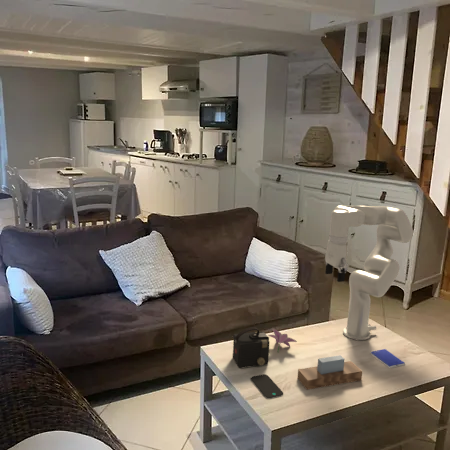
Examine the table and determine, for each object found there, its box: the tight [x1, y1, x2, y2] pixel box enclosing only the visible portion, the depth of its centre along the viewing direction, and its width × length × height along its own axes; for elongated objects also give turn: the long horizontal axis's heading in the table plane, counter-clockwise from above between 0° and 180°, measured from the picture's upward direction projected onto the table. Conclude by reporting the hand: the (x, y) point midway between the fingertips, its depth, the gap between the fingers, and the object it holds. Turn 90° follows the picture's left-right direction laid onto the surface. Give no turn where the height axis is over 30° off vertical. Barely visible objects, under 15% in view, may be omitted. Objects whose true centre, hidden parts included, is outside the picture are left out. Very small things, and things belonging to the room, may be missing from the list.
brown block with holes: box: [297, 360, 363, 390], centre depth 187 cm, size 24×8×4 cm, turn 109°
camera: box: [232, 326, 270, 369], centre depth 197 cm, size 11×14×15 cm
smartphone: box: [250, 373, 284, 400], centre depth 182 cm, size 8×1×15 cm
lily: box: [267, 328, 298, 352], centre depth 210 cm, size 12×12×10 cm
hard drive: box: [370, 348, 406, 369], centre depth 205 cm, size 2×8×12 cm
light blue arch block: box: [316, 354, 346, 375], centre depth 187 cm, size 10×3×9 cm, turn 109°
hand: (334, 277), depth 205 cm, fingers open, 9 cm apart
